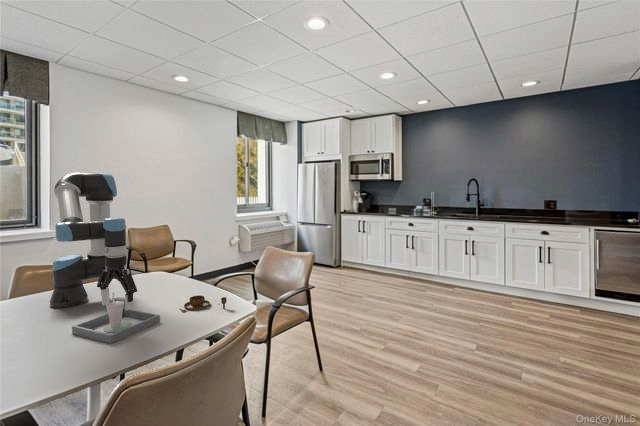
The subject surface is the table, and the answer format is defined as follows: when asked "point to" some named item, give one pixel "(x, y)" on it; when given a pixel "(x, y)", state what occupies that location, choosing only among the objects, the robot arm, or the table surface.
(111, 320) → the smoothie
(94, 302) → the table surface
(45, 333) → the table surface
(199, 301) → the place setting
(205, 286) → the table surface
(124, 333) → the grey square frame
